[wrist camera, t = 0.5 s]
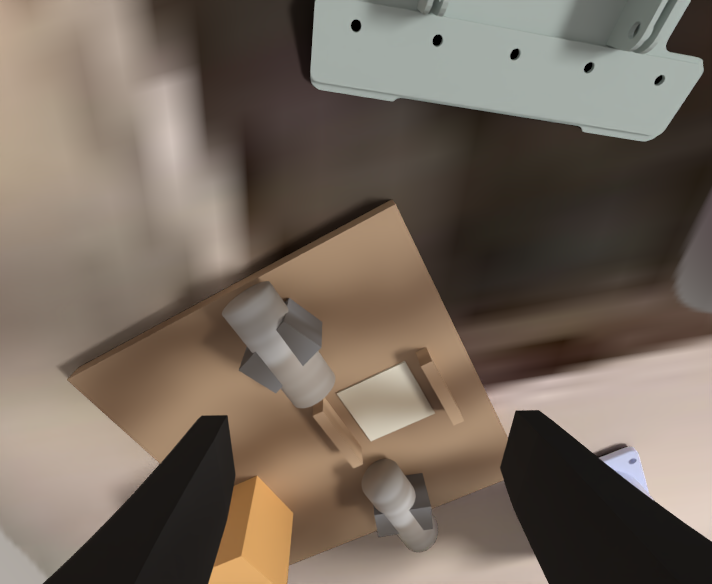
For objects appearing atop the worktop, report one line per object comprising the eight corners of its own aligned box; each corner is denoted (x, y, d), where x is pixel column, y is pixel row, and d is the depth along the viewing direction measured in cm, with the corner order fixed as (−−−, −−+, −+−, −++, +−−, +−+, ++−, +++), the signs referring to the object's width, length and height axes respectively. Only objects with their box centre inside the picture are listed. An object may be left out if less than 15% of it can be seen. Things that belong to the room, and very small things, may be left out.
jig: (517, 459, 25) (543, 508, 22) (279, 554, 27) (273, 610, 24) (391, 199, 17) (405, 218, 14) (79, 367, 20) (32, 414, 17)
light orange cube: (293, 513, 24) (286, 594, 20) (240, 535, 25) (222, 619, 21) (257, 475, 22) (241, 556, 18) (201, 500, 23) (173, 583, 19)
